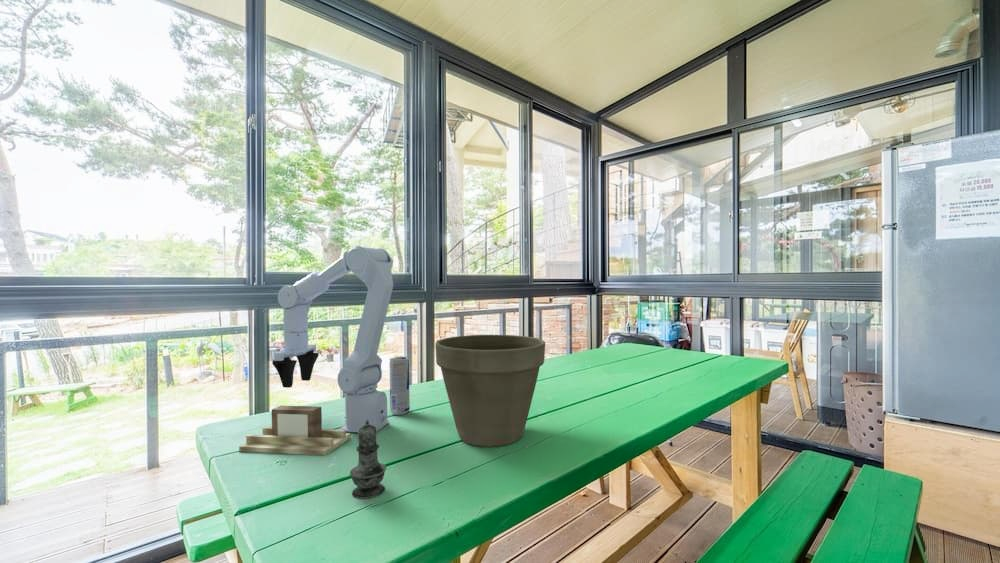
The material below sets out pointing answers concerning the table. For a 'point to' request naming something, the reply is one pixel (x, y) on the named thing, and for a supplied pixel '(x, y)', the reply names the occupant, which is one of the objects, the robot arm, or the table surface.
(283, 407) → the frame
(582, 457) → the table surface
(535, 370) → the plant pot
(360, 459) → the salt shaker
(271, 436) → the ledge
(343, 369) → the robot arm
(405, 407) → the beverage can
